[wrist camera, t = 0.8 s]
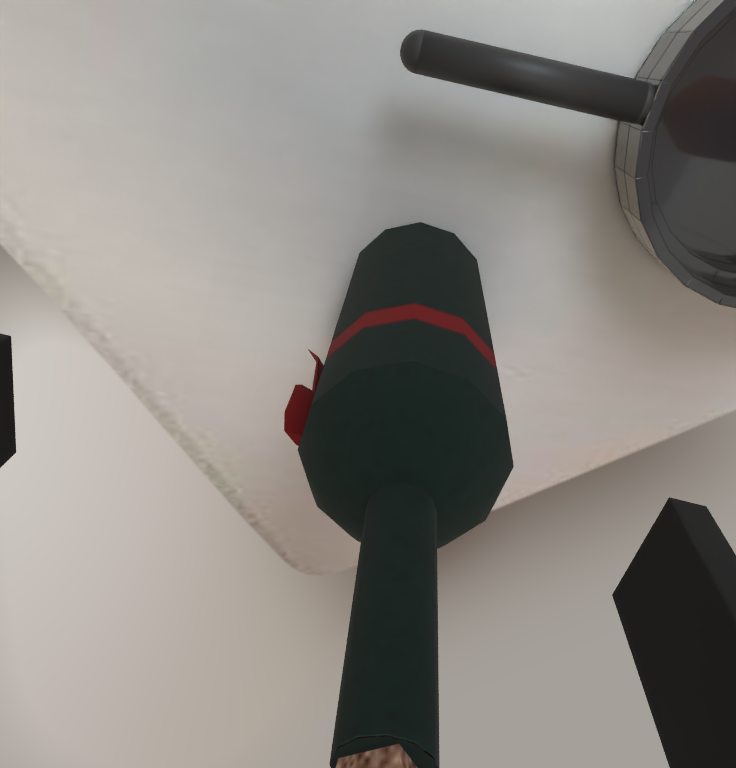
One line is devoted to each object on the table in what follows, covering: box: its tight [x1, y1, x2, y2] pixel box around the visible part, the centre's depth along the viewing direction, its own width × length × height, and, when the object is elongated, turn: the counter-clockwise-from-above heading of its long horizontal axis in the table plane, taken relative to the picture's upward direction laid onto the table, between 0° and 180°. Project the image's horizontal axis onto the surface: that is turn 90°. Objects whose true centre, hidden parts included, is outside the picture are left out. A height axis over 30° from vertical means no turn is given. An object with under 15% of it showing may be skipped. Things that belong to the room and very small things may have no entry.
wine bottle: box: [284, 222, 514, 768], centre depth 25 cm, size 8×10×30 cm
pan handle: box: [400, 30, 655, 124], centre depth 29 cm, size 2×12×2 cm, turn 79°
